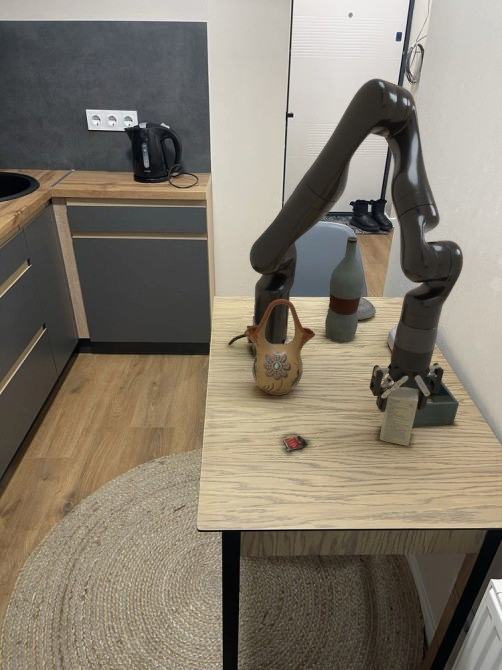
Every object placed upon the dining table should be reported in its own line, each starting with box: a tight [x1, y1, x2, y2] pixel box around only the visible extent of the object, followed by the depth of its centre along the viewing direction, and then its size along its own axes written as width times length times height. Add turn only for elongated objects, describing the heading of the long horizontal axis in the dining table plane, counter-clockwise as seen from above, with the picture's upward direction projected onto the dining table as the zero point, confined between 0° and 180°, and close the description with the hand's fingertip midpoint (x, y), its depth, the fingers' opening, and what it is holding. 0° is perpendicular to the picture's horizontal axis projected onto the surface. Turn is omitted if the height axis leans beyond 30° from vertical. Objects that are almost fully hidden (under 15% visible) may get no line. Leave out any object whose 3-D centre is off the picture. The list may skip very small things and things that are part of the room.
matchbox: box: [282, 433, 309, 453], centre depth 105 cm, size 5×5×1 cm
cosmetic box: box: [379, 387, 419, 447], centre depth 105 cm, size 6×4×12 cm
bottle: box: [324, 236, 365, 344], centre depth 139 cm, size 9×9×30 cm
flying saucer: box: [357, 296, 377, 321], centre depth 159 cm, size 15×15×6 cm
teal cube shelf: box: [407, 374, 460, 427], centre depth 115 cm, size 10×11×6 cm
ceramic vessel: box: [243, 299, 316, 396], centre depth 116 cm, size 16×9×25 cm, turn 90°
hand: (399, 408), depth 104 cm, fingers open, 7 cm apart
